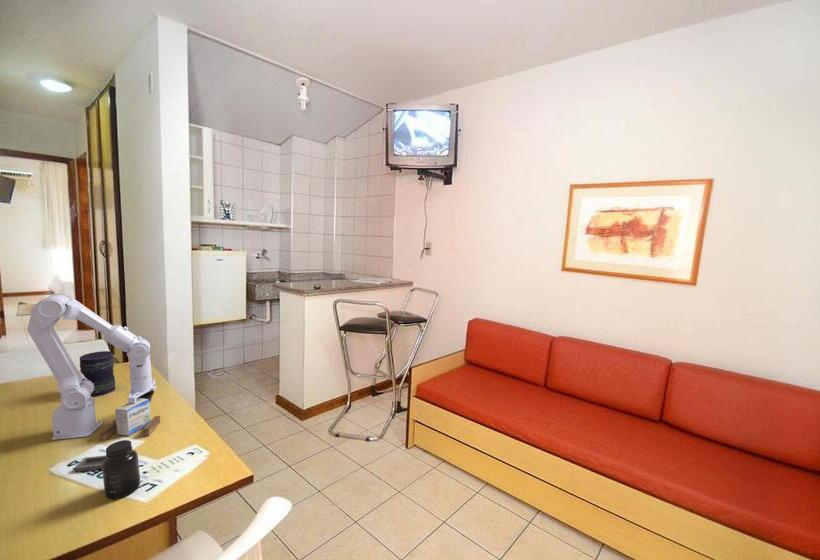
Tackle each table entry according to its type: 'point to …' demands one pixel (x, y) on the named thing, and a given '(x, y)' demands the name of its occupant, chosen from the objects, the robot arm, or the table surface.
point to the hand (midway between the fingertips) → (143, 413)
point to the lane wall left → (108, 431)
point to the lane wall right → (151, 426)
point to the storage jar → (99, 371)
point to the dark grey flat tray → (90, 463)
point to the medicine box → (132, 416)
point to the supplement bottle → (120, 470)
